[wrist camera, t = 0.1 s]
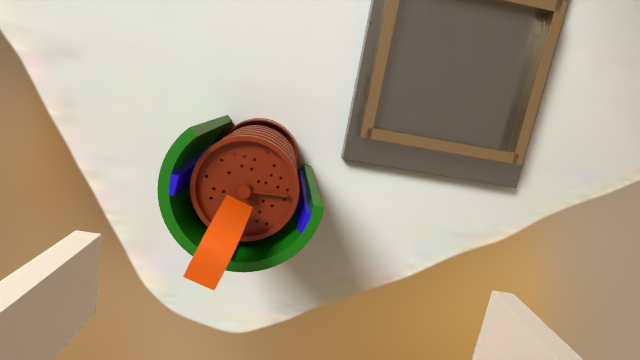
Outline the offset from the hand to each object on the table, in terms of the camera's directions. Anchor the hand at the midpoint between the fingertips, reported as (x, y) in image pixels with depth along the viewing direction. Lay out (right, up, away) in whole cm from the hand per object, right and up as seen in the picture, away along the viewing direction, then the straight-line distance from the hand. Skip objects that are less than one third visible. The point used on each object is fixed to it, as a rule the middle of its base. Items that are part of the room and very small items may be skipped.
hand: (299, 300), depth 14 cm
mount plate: (+13, +14, +26) cm, 33 cm away
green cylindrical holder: (-5, +6, +27) cm, 28 cm away
